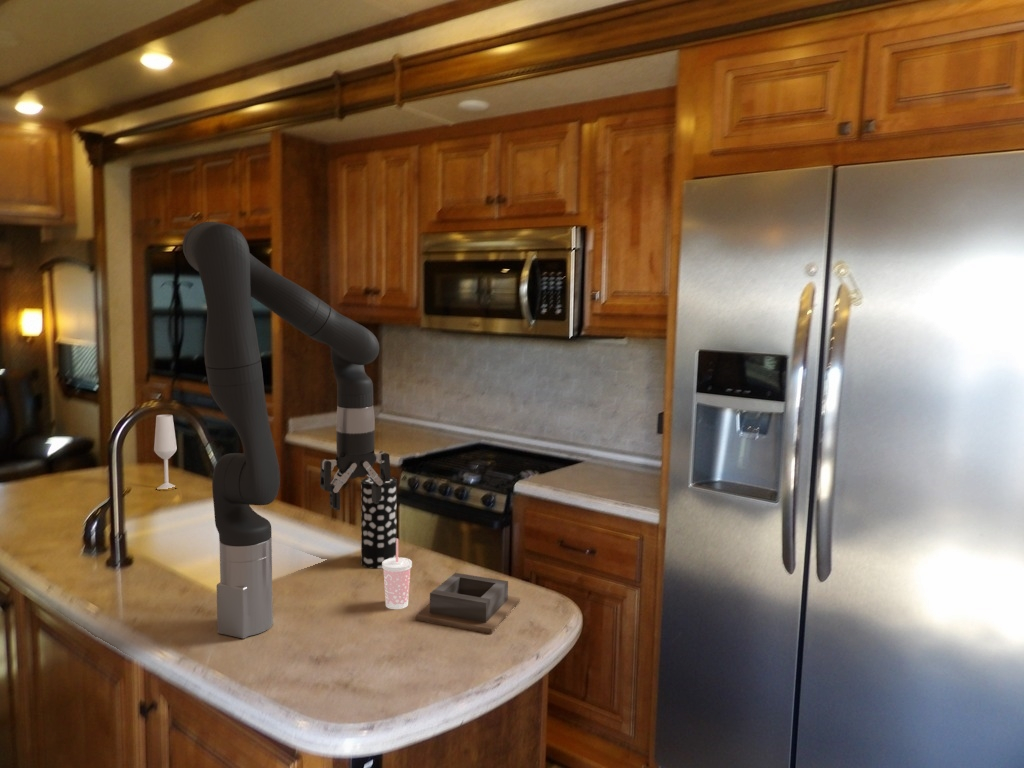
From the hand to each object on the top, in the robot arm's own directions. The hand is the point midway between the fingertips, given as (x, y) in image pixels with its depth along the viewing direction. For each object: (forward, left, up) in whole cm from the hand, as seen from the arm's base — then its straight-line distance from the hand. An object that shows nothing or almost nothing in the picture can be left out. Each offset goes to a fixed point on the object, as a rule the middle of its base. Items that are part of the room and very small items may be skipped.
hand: (356, 505), depth 148 cm
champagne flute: (+55, +106, -21) cm, 121 cm away
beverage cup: (+3, -8, -21) cm, 22 cm away
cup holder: (+6, -23, -21) cm, 31 cm away
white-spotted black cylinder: (+23, +8, -21) cm, 32 cm away
